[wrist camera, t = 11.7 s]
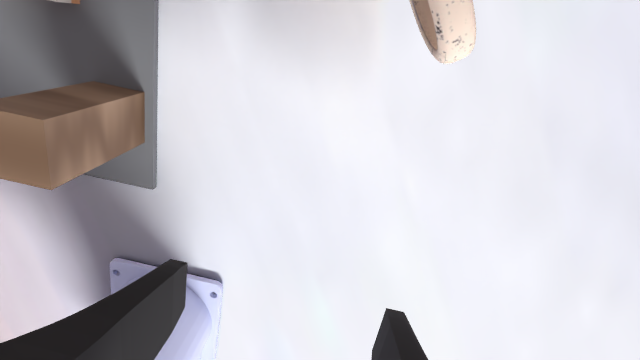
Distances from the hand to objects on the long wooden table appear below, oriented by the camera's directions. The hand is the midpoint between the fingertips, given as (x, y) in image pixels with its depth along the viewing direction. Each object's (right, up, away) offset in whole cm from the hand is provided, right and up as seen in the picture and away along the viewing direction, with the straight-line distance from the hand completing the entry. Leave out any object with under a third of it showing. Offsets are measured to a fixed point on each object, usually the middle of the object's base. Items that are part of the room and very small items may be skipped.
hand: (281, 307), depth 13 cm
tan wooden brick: (-10, +8, +8) cm, 16 cm away
